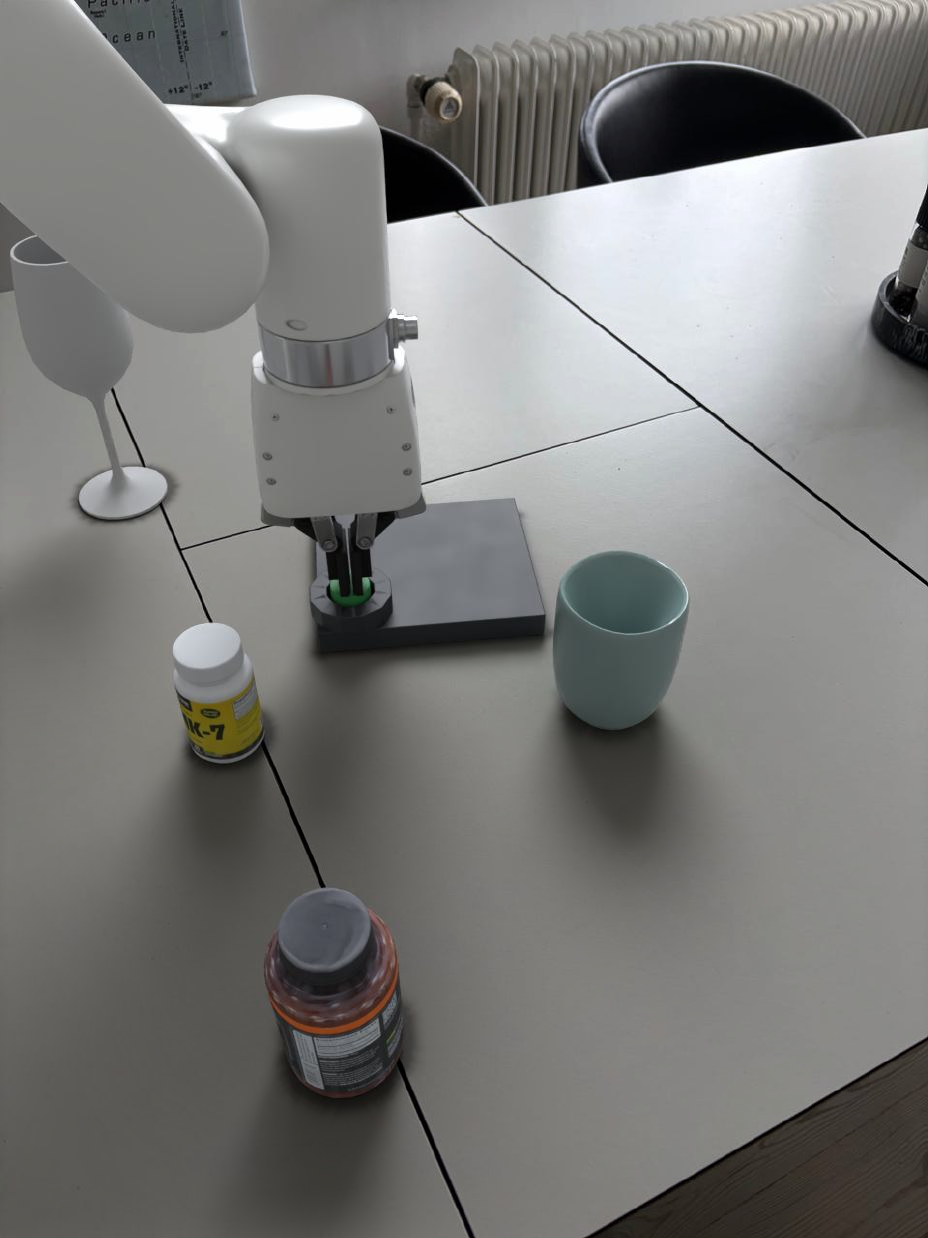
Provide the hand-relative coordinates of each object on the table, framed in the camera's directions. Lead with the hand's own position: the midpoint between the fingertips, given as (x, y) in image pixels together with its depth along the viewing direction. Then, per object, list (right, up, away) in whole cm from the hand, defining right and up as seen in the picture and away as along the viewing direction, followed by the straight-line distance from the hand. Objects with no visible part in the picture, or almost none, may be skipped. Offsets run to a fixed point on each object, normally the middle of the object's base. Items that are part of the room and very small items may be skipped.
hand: (351, 582), depth 70 cm
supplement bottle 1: (-7, -10, -5) cm, 14 cm away
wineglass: (-21, +8, +15) cm, 27 cm away
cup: (+17, -8, -2) cm, 19 cm away
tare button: (0, -1, +1) cm, 2 cm away
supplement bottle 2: (+2, -24, -19) cm, 31 cm away
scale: (+5, +1, +7) cm, 8 cm away
